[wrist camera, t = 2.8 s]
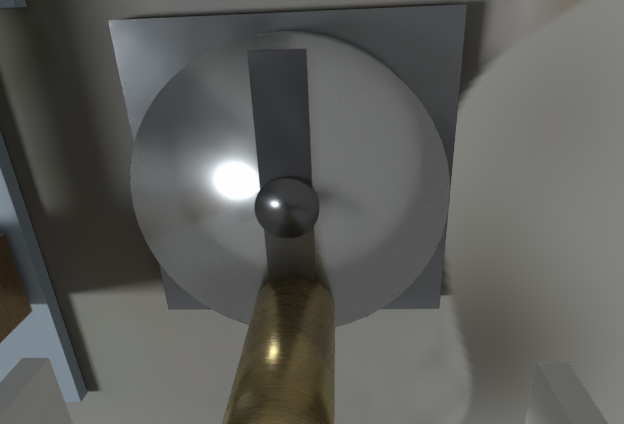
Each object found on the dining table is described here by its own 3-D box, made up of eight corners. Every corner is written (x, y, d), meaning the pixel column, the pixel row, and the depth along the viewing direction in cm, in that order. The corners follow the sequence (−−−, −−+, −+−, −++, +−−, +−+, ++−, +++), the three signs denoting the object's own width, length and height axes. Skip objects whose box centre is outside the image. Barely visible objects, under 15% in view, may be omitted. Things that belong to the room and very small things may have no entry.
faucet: (121, 37, 14) (-365, 110, 4) (451, 23, 13) (755, 71, 4) (177, 313, 18) (-2, 658, 9) (428, 312, 18) (539, 685, 8)
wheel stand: (119, 19, 15) (103, 20, 14) (460, 4, 14) (469, 4, 13) (174, 298, 19) (166, 314, 18) (435, 296, 19) (440, 313, 18)
